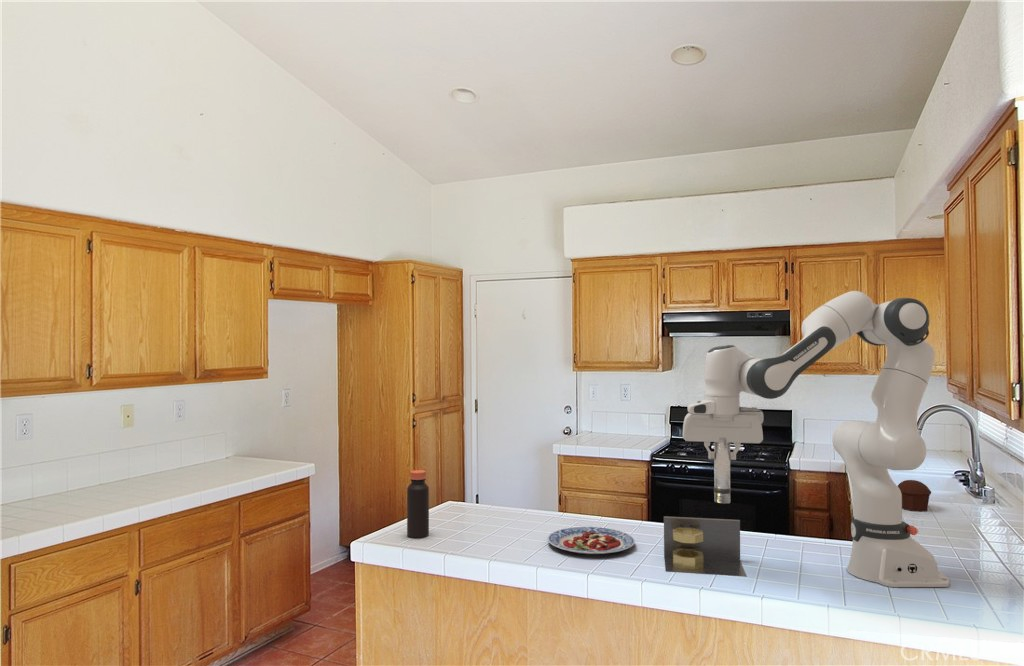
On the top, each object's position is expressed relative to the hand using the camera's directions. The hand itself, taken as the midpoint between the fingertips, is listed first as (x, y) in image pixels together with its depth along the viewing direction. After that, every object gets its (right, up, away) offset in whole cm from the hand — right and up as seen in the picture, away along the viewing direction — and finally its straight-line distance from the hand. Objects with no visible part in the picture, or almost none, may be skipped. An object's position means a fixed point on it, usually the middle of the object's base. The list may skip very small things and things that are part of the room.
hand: (722, 459), depth 174 cm
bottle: (-85, -30, +33) cm, 96 cm away
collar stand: (-5, -29, 0) cm, 30 cm away
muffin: (+90, -30, +64) cm, 114 cm away
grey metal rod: (0, -11, 0) cm, 11 cm away
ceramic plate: (-32, -30, +22) cm, 49 cm away
